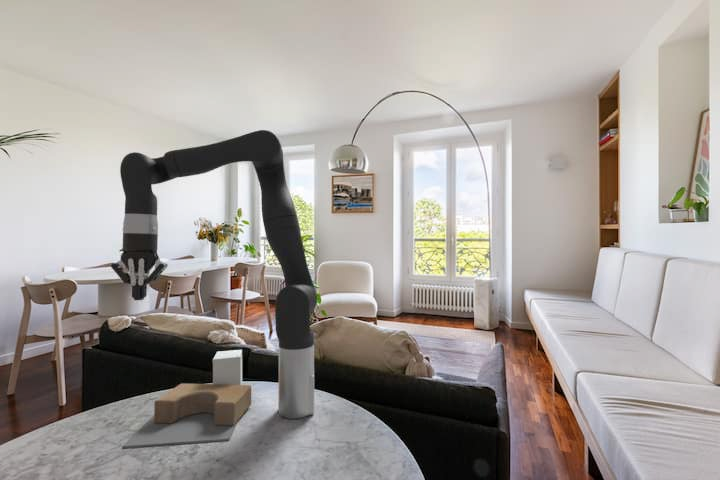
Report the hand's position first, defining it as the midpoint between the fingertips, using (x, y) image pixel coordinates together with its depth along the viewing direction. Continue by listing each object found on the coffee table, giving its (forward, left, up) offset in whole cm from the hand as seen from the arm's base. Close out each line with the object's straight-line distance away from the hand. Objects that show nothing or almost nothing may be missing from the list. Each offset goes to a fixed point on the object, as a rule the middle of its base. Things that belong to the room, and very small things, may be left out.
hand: (138, 299), depth 86 cm
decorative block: (-7, 0, -27) cm, 27 cm away
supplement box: (-20, -8, -30) cm, 37 cm away
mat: (-15, +6, -30) cm, 34 cm away
